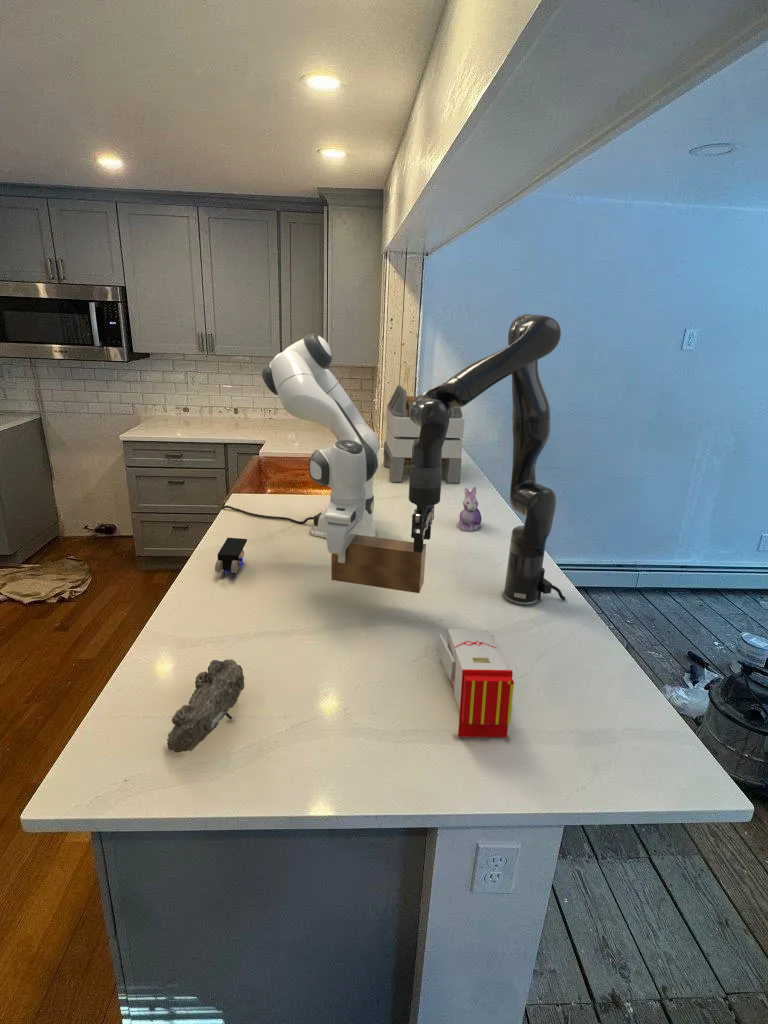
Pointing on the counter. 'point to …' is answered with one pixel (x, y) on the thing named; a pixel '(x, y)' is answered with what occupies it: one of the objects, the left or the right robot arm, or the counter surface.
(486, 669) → the toy
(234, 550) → the black toy vehicle
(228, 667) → the fossil
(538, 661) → the counter surface
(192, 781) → the counter surface
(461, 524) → the figurine
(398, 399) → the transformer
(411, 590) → the box
